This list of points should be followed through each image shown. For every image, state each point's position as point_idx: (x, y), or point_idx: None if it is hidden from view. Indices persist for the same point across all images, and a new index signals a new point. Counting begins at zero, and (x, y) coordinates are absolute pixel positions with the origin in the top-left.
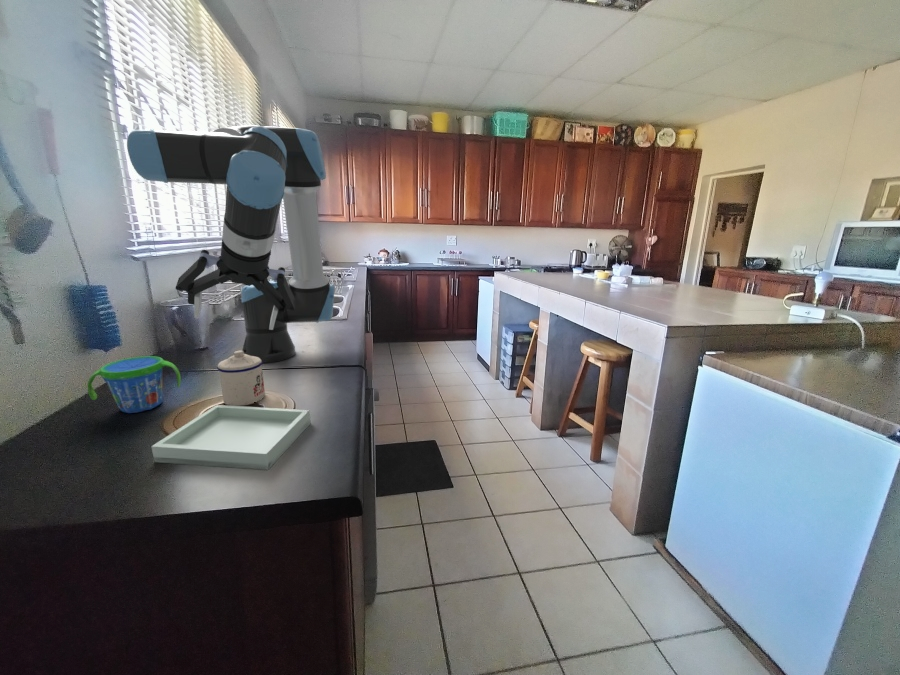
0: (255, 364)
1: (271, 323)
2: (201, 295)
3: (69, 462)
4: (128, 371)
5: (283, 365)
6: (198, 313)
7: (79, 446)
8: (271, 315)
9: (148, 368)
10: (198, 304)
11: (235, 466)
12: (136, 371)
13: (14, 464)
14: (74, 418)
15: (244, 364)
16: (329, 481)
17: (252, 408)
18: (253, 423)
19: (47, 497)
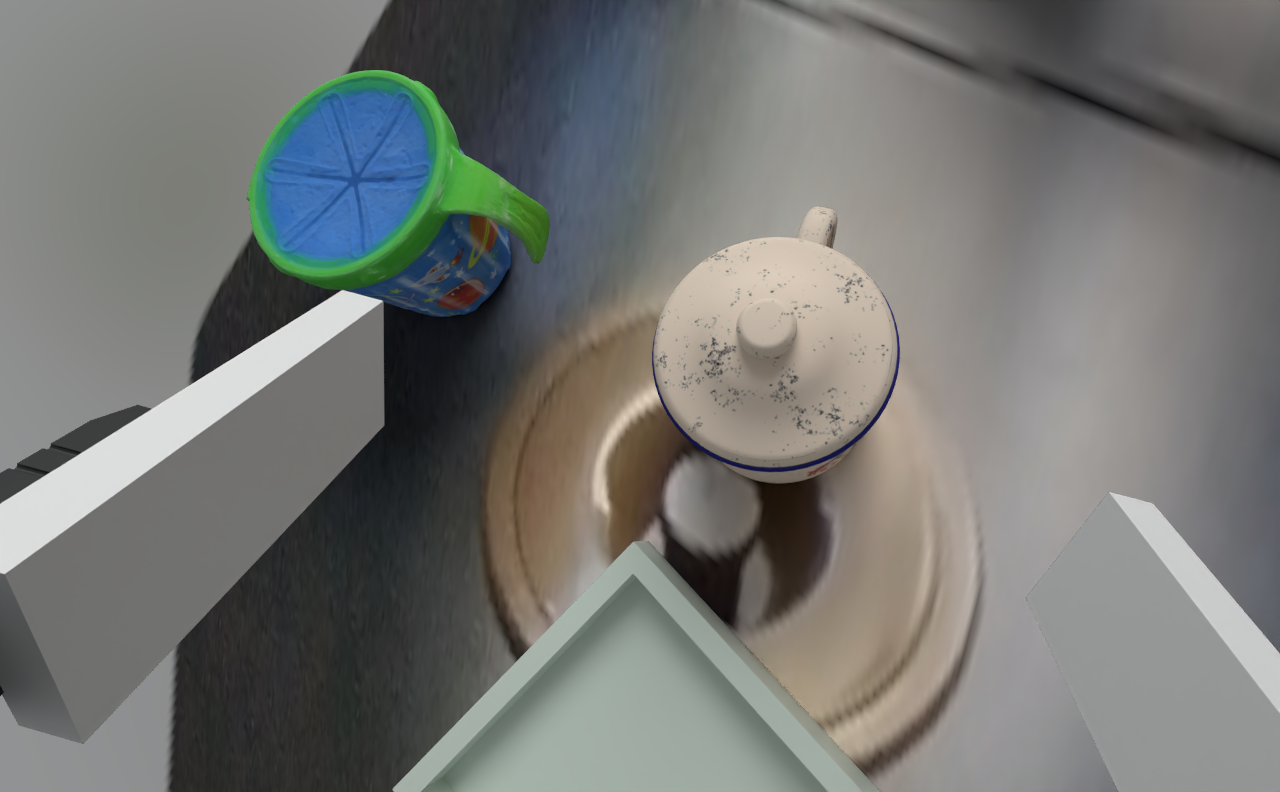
0: (843, 441)
1: (1085, 703)
2: (187, 478)
3: (274, 582)
4: (315, 279)
5: (1053, 34)
6: (334, 477)
7: None
8: (1158, 571)
9: (383, 262)
10: (217, 592)
11: None
12: (343, 280)
13: None
14: None
15: (778, 438)
16: None
17: (756, 698)
18: (744, 756)
19: (224, 768)
